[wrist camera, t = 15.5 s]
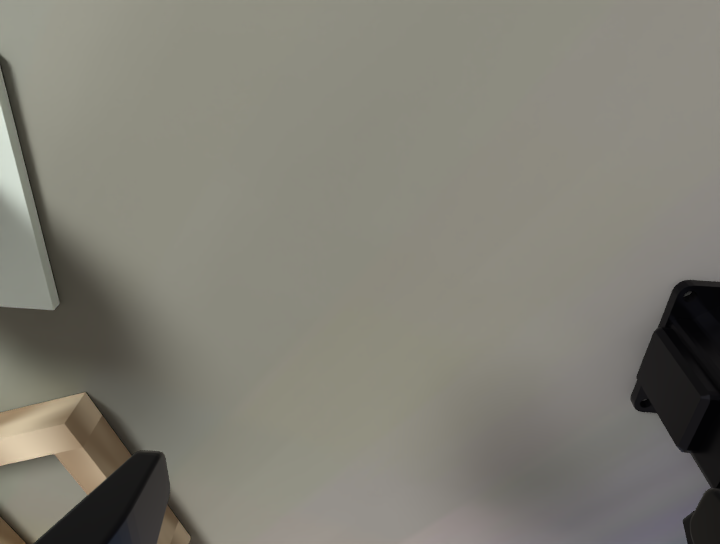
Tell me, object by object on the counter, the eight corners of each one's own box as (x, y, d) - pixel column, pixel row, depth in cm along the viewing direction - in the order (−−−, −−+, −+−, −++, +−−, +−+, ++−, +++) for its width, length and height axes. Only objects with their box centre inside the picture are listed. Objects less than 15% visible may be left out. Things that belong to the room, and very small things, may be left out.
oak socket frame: (85, 392, 26) (64, 423, 24) (190, 537, 31) (179, 572, 30) (-105, 438, 28) (-137, 470, 26) (23, 567, 33) (3, 601, 32)
